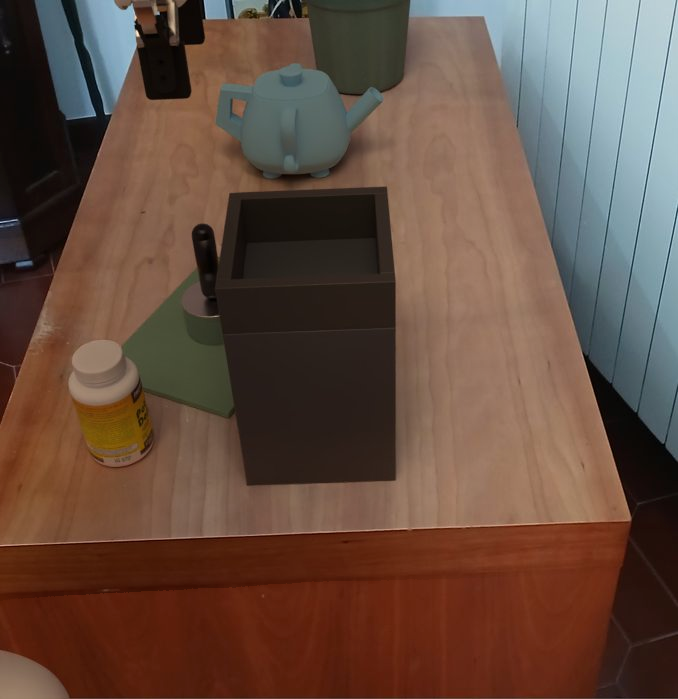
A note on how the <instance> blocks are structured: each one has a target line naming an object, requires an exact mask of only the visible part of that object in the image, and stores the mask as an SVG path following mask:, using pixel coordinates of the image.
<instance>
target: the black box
mask: <svg viewBox="0 0 678 699" xmlns="http://www.w3.org/2000/svg"><path fill="white" fill-rule="evenodd" d="M227 200H228V201H227V207H226V213H225V220H224V227H223V232H222V233H223V234H222V240H221V245H220V246H221V247H220V253H219V257H220V259H219V266H218V272H217V279H216V285H215V292H216V298H217V304H218V310H219V316H220V322H221V329H222V333H223V341H224V347H225V353H226V359H227V365H228V371H229V377H230V384H231V390H232V396H233V402H234V408H235V411H234V413H235V419H236V426H237V433H238V438H239V445H240V451H241V457H242V461H243V468H244V476H245V482H246V486H267V485H270V486H272V485H273V486H274V485H297V484H326V483H329V484H330V483H331V484H332V483H355V482H357V483H359V482H384V481H385V482H386V481H396V480H397V413H396V412H397V389H396V388H397V305H396V304H397V301H396V300H397V281H396V271H395V270H396V268H395V259H394V248H393V239H392V238H393V237H392V225H391V216H390V205H389V193H388V187H387V186H364V187H362V186H361V187H338V188H315V189H312V188H311V189H291V190H267V191H266V190H265V191H264V190H263V191H240V192H229V194H228V199H227Z"/></svg>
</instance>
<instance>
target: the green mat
mask: <svg viewBox="0 0 678 699" xmlns="http://www.w3.org/2000/svg"><path fill="white" fill-rule="evenodd" d="M219 259H220V256H218V261H219ZM197 282H199V275H198V269H197V267H195V268H194V270H192V272H191V273H190V274H189V275H187V277H186V278H185V279H184V280H183V281H182V282H181V283H180V284H179V285H178V286H177V287H176V288H175V290H173V292H172V293H170V294H169V296H168V297H167V298H166V299H165V300H164V301H163V302H162V303H161V304H160V305H159V306H158V307H157V308H156V309H155V310H154V311H153V312H152V313H151V315H149V316H148V318H146V320H145V321H144V322H143V323H142V324H141V325H140V326H139V327H138V328H137V329H136V330H135V331H134V332H133V333H132V335H130V336H129V338H127V339H126V341H124V343H123V344H122V345H120V346H121V348H122V350H123V354H124V356H125V357H127V358H129V359H130V360H131V361H133V362H134V364H135V365H136V367H137V369H138V371H139V375H140V379H141V383H142V387H143V391H144V393H148V394H151V395H154V396H157V397H160V398H164V399H167V400H170V401H172V402H176V403H179V404H182V405H186V406H188V407H192V408H195V409H199V410H201V411H204V412H207V413H211V414H214V415H217V416H220V417H222V418H226V419H230V418H231V416H232V415H233V414H234V413H235V408H234V402H233V396H232V390H231V384H230V377H229V371H228V365H227V359H226V353H225V347H224V344H223V345H204V344H201V343H198V342H196V341H194V340H193V339H192V338H191V337H190V336H189V335H188V333H187V329H186V323H185V318H184V313H183V308H182V303H181V299H182V296H183V294H184V292H185V291H186V290H187V289H188V288H189V287H190V286H192V285H193V284H195V283H197Z"/></svg>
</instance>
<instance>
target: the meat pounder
mask: <svg viewBox="0 0 678 699" xmlns="http://www.w3.org/2000/svg"><path fill="white" fill-rule="evenodd" d="M191 241H192V246H193V252H194V257H195V263H196V268H197V269H198V275H199V282H197V283H195V284H193V285H192V286H190V287H189V288H188V289H187V290H186V291H185V292H184V294H183V296H182V299H181V303H182V308H183V313H184V318H185V323H186V329H187V333H188V335H189V336H190V337H191V338H192V339H193V340H194V341H196V342H198V343H201V344H204V345H223V344H224V341H223V333H222V329H221V322H220V316H219V310H218V304H217V298H216V292H215V285H216V279H217V272H218V266H219V261H218V257H219V255H218V249H217V242H216V236H215V231H214V229H213V228H212V226H211V225H209V224H208V223H204V222H202V223H198V224H196V225H194V227H193V228H192V230H191Z"/></svg>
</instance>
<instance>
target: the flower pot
mask: <svg viewBox="0 0 678 699" xmlns="http://www.w3.org/2000/svg"><path fill="white" fill-rule="evenodd" d="M305 4H306V11H307V16H308V24H309V28H310V35H311V41H312V42H311V43H312V49H313V54H314V61H315V68H316V69H315V70H319V71H322V72H324V73H326V74H327V75H328V76H329V78H330V79H331V81H332V82H333V84H334V85H335V87H336V89H337V91H338V92H339V94H346V95H363V94H364V93H365V92H366V91H367V90H368V89H369V88H370V87H373V88H375V89H376V90H378V91H379V92H380V93H381V92H383V91H386V90H388V89H391V88H392V87H395V86H396V85H397V84H399V83H400V82H401V80H402V79H403V78H404V74H405V67H406V66H405V64H406V55H407V54H406V53H407V44H408V33H409V32H408V31H409V19H410V12H411V10H410V9H411V0H305Z"/></svg>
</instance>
